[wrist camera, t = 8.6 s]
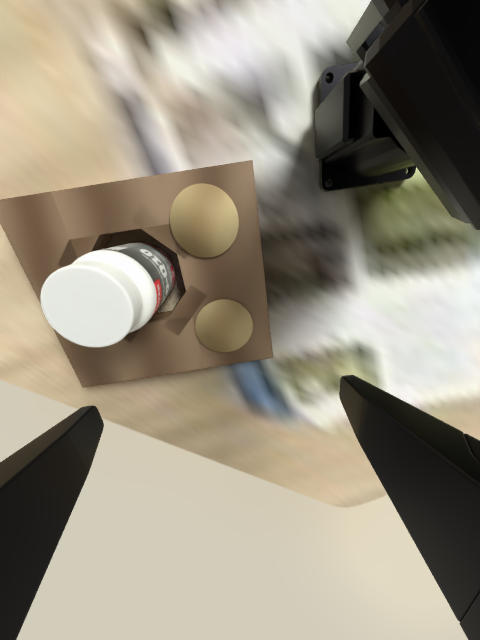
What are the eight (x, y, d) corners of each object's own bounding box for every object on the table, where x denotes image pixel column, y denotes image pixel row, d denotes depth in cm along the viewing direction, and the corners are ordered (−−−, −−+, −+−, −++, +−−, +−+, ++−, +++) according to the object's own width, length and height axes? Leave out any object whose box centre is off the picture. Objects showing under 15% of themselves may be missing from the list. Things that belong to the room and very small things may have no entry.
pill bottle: (185, 292, 19) (159, 340, 12) (131, 309, 19) (70, 367, 12) (161, 232, 17) (111, 241, 10) (101, 252, 18) (7, 276, 10)
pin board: (249, 167, 16) (252, 159, 14) (268, 345, 22) (273, 358, 20) (16, 203, 16) (-14, 201, 14) (94, 373, 22) (81, 389, 20)
